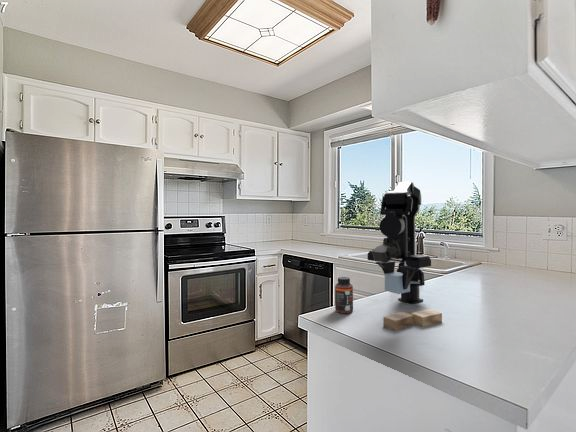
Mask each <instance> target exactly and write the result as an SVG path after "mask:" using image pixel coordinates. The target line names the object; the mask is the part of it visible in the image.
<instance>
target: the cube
mask: <svg viewBox="0 0 576 432" xmlns="http://www.w3.org/2000/svg"><path fill="white" fill-rule="evenodd" d="M384 291H385V292H387V293H388V292H390V293H393V294H397V295H401V293H406V292H410V283H409V285H408V288H407V289H405V290H404V289H403V273H400V272H397V271H394V272H392V273H386V274H384Z"/></svg>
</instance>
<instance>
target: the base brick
mask: <svg viewBox="0 0 576 432" xmlns="http://www.w3.org/2000/svg"><path fill="white" fill-rule="evenodd" d="M382 321H383V323H382V324H383V327H386V328H388V329H391V330H393V331H398V330H401V329H404V328H407V327H410V326H414V324H415V323H414V315H411V313H407V312H404V311H398V312H396V313H392V314H388V315H384V316H383V319H382Z"/></svg>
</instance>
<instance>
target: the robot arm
mask: <svg viewBox="0 0 576 432" xmlns="http://www.w3.org/2000/svg"><path fill="white" fill-rule="evenodd" d="M421 205H422V193H421V190H420V188H418V187H416V186H415V184H414V181H413V182H412V181H399V182H398V183H397V186H396V187H395V189H394V190H389V191H386V192H385V193H384V195H383V196H382V199H381V206H380V212H379V214H380V215H381V216H385V217H383V218H381V220H380V222H379V225H378V227H379V230H380V233H382V235H384V236H385V237H383V239H382V243H381V244H380V245H378V246H376V247H375V248H373V249H372V250H369V251H368V253H367V261H371V262H375V264H376V265H378V266H379V267H380V268H381V269H382V272H383V274H384V275H385V274H386V273H392V272H395V267H396V262H399V263H398V267H396V272H400V273H403V289H404V290H405V289H407V288H408V285H409V283H410V292H406V293H401V294H400V297H399V298H397V300H398V301H401V302H405V303H408V304H416V303H417V304H418V303H420V302H424V298H423V299H422V298H420V287H422V286H425V273H424V272H423V268H427V267H432V259H431V258H430V256H429V255H422V254H416V215H417V214H418V213H419V211H420V208H421V207H420V206H421Z"/></svg>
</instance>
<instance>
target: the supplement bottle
mask: <svg viewBox="0 0 576 432" xmlns="http://www.w3.org/2000/svg"><path fill="white" fill-rule="evenodd" d="M350 279H351V277H348V276H339V277H337V283H336V284H335V285H334V305H335V306H334V308H335V309H334V310H335V312H336V313H340V314H350V313H353V311H354V286H353V284H352V283H351V280H350Z"/></svg>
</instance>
